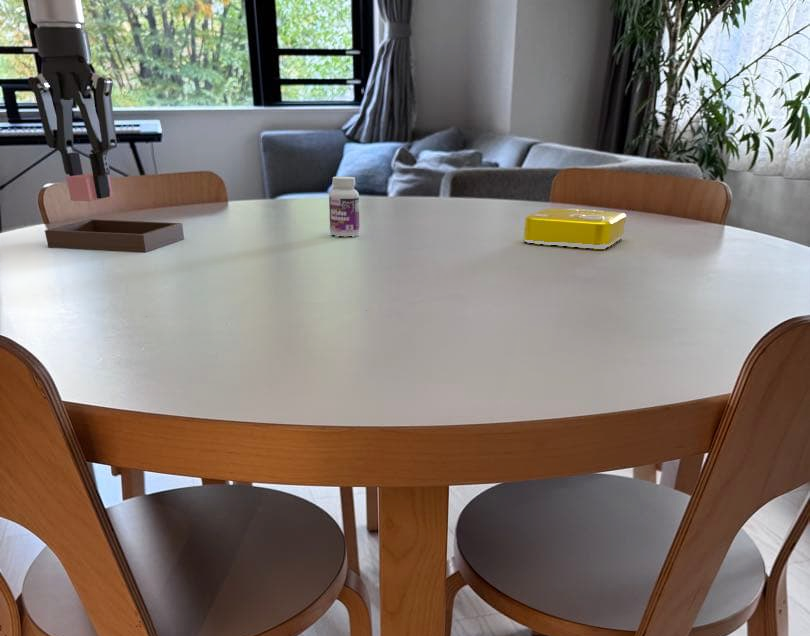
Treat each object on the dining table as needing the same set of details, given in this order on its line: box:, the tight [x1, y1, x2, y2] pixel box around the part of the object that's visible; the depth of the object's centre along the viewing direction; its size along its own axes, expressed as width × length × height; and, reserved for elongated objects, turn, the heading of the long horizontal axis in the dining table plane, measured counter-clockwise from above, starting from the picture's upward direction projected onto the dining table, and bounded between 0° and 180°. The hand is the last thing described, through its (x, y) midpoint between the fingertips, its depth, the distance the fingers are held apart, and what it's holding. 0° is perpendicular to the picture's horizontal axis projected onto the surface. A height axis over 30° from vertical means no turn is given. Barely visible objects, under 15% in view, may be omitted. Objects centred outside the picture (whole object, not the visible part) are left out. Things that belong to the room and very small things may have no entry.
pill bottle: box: [328, 175, 360, 238], centre depth 135 cm, size 5×5×10 cm
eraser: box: [66, 172, 114, 202], centre depth 125 cm, size 7×4×4 cm, turn 168°
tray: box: [44, 218, 185, 253], centre depth 128 cm, size 18×14×3 cm
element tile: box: [523, 207, 627, 251], centre depth 133 cm, size 15×15×5 cm
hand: (92, 196), depth 125 cm, fingers closed on eraser, 4 cm apart
